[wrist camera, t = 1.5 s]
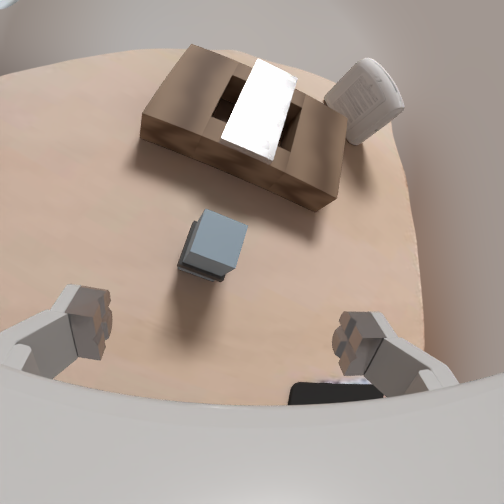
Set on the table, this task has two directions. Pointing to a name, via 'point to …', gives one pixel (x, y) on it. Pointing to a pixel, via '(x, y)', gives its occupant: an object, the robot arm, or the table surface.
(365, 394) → the phone
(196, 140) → the brown tissue box
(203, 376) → the table surface
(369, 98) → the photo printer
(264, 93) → the white rectangular bar
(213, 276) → the blue-gray rectangular block
